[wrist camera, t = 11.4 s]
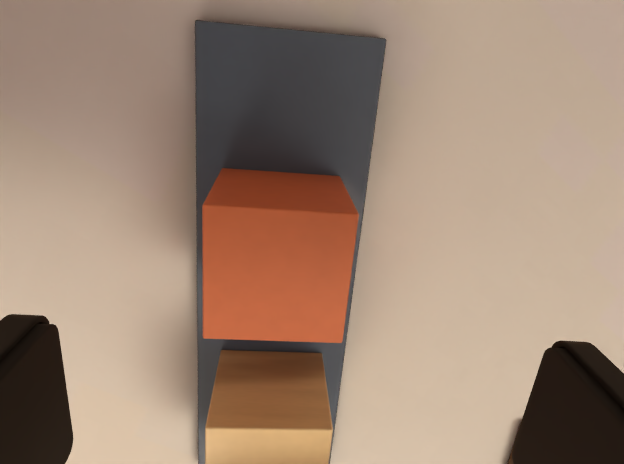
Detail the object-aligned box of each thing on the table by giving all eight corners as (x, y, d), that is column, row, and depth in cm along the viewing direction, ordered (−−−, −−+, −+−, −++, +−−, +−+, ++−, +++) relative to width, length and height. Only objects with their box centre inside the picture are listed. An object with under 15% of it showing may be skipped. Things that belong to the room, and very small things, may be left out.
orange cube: (221, 167, 16) (202, 203, 12) (340, 175, 17) (359, 213, 13) (220, 275, 18) (202, 339, 14) (328, 280, 18) (342, 343, 14)
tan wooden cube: (220, 349, 19) (204, 427, 15) (322, 352, 20) (333, 429, 16) (219, 428, 21) (204, 519, 17) (313, 429, 21) (321, 518, 17)
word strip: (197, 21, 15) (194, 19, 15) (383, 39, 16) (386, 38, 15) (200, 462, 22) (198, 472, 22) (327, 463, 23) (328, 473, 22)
